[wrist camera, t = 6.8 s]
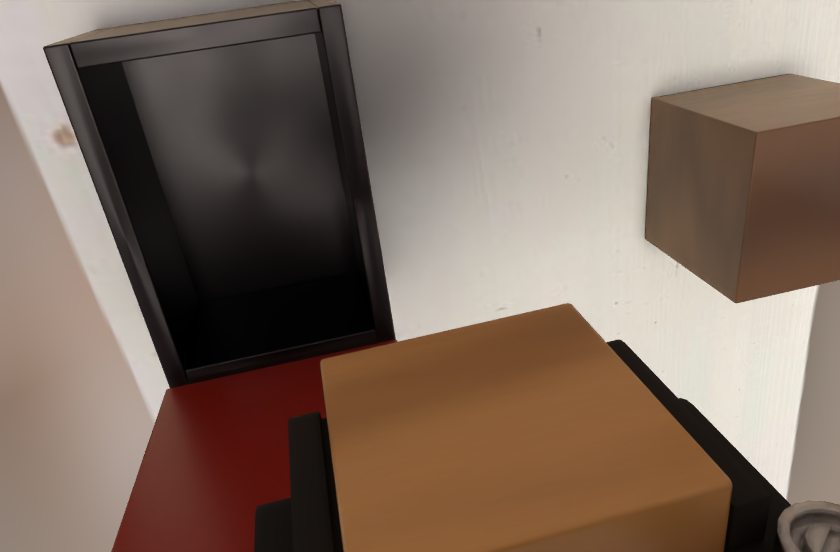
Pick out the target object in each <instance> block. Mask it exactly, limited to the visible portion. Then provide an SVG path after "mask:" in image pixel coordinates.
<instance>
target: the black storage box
mask: <svg viewBox="0 0 840 552" xmlns="http://www.w3.org/2000/svg"><path fill="white" fill-rule="evenodd" d="M43 50H44V52H45V55H46V58H47V60H48V63H49V66H50V68H51V71H52V74H53V76H54V79H55V82H56V84H57V87H58V90H59V92H60V95H61V98H62V100H63V103H64V106H65V108H66V111H67V114H68V116H69V119H70V122H71V124H72V127H73V130H74V133H75V135H76V138H77V141H78V143H79V146H80V149H81V151H82V154H83V157H84V159H85V162H86V165H87V167H88V170H89V173H90V175H91V178H92V181H93V183H94V186H95V189H96V191H97V194H98V197H99V199H100V202H101V205H102V207H103V210H104V213H105V215H106V218H107V221H108V223H109V226H110V229H111V231H112V234H113V237H114V239H115V242H116V245H117V248H118V250H119V253H120V256H121V258H122V261H123V264H124V266H125V269H126V272H127V274H128V277H129V280H130V282H131V285H132V288H133V290H134V293H135V296H136V298H137V301H138V304H139V306H140V309H141V312H142V314H143V317H144V320H145V322H146V325H147V328H148V330H149V333H150V336H151V338H152V341H153V344H154V346H155V349H156V352H157V354H158V357H159V360H160V363H161V365H162V368H163V371H164V373H165V376H166V379H167V381H168V384H169V387H170V388H175V387H180V386H184V385H189V384H193V383H198V382H202V381H207V380H212V379H216V378H221V377H225V376H230V375H235V374H239V373H244V372H248V371H253V370H258V369H262V368H267V367H271V366H276V365H281V364H285V363H290V362H294V361H299V360H304V359H308V358H313V357H317V356H322V355H326V354H331V353H336V352H340V351H345V350H349V349H354V348H359V347H363V346H368V345H372V344H377V343H382V342H386V341H391V340H396V338H395V332H394V326H393V320H392V314H391V307H390V301H389V295H388V289H387V283H386V277H385V271H384V265H383V259H382V252H381V246H380V240H379V234H378V228H377V222H376V216H375V210H374V204H373V197H372V191H371V185H370V179H369V173H368V167H367V161H366V155H365V148H364V142H363V136H362V130H361V124H360V118H359V112H358V106H357V100H356V93H355V87H354V81H353V75H352V69H351V63H350V57H349V51H348V44H347V38H346V32H345V26H344V20H343V14H342V8H341V5H340V4H338V3H336V2H334V1H332V0H302V1H294V2H287V3H280V4H273V5H266V6H259V7H252V8H245V9H238V10H231V11H224V12H217V13H210V14H203V15H196V16H189V17H182V18H175V19H168V20H161V21H153V22H146V23H139V24H132V25H125V26H118V27H111V28H104V29H97V30H94V31H90V32H87V33H84V34H81V35H78V36H75V37H72V38H69V39H66V40H63V41H60V42H56V43H53V44H50V45H47V46H44V47H43Z"/></svg>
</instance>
